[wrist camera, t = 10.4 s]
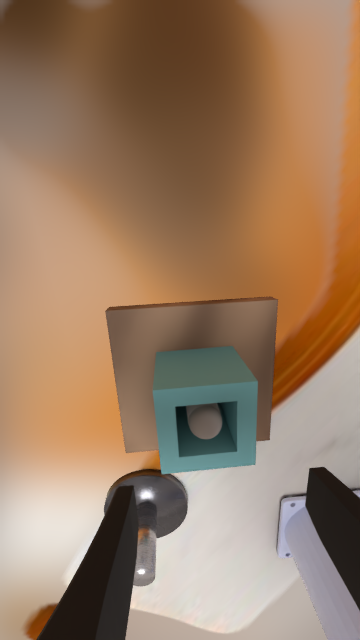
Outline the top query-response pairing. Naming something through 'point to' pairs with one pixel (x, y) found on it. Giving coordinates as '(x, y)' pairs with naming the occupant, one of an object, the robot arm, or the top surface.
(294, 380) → the top surface
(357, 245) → the top surface
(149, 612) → the top surface
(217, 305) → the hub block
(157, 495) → the round base with peg
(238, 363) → the teal collar
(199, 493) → the top surface
